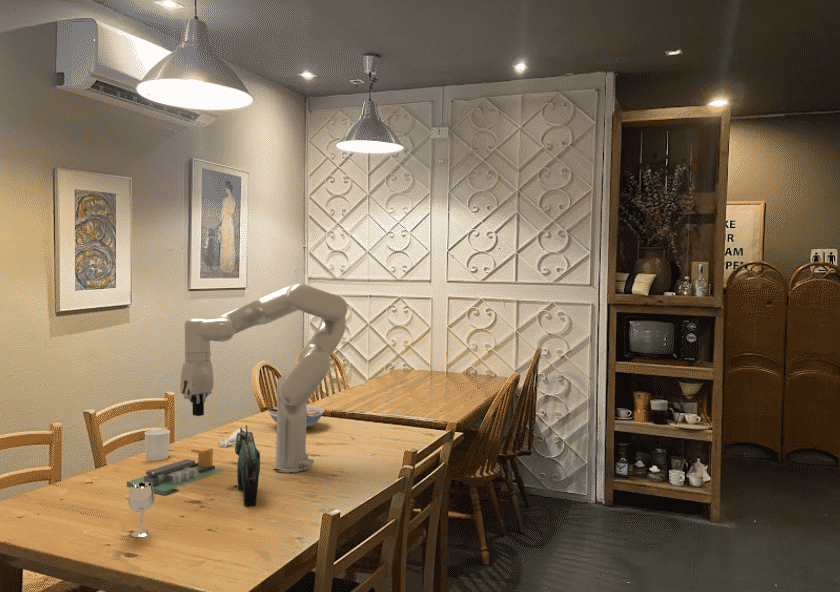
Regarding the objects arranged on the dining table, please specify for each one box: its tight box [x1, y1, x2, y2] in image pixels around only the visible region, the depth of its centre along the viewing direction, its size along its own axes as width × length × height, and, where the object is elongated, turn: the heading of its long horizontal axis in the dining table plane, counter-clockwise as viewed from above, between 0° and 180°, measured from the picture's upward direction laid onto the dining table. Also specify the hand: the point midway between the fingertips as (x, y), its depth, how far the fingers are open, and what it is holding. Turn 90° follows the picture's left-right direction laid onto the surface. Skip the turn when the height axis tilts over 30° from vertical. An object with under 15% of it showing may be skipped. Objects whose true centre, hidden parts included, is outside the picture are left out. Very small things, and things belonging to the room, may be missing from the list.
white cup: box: [144, 428, 171, 463], centre depth 217 cm, size 8×8×10 cm
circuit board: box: [126, 461, 226, 496], centre depth 198 cm, size 16×24×2 cm, turn 153°
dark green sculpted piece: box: [234, 424, 261, 508], centre depth 185 cm, size 20×6×20 cm, turn 21°
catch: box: [190, 446, 214, 467], centre depth 207 cm, size 5×4×6 cm
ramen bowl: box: [260, 405, 325, 428], centre depth 269 cm, size 25×23×8 cm
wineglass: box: [127, 482, 155, 538], centre depth 157 cm, size 6×6×12 cm
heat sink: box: [143, 463, 197, 487], centre depth 195 cm, size 12×14×2 cm
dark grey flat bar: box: [145, 458, 196, 477], centre depth 196 cm, size 4×16×1 cm, turn 153°
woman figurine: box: [218, 428, 249, 449], centre depth 243 cm, size 12×4×18 cm
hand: (198, 415), depth 204 cm, fingers closed
